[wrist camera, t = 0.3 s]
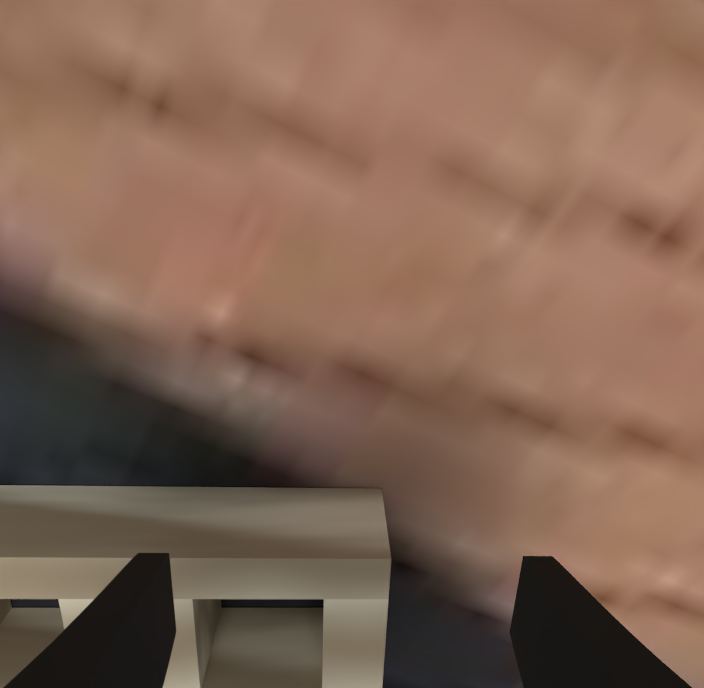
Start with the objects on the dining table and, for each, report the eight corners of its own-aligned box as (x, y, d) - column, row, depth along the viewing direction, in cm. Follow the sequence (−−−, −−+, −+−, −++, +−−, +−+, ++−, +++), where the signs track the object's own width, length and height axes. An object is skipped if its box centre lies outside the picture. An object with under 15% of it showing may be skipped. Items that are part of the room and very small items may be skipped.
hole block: (372, 637, 25) (379, 725, 21) (-33, 638, 24) (-101, 729, 20) (381, 488, 22) (391, 558, 18) (-76, 484, 21) (-163, 556, 18)
